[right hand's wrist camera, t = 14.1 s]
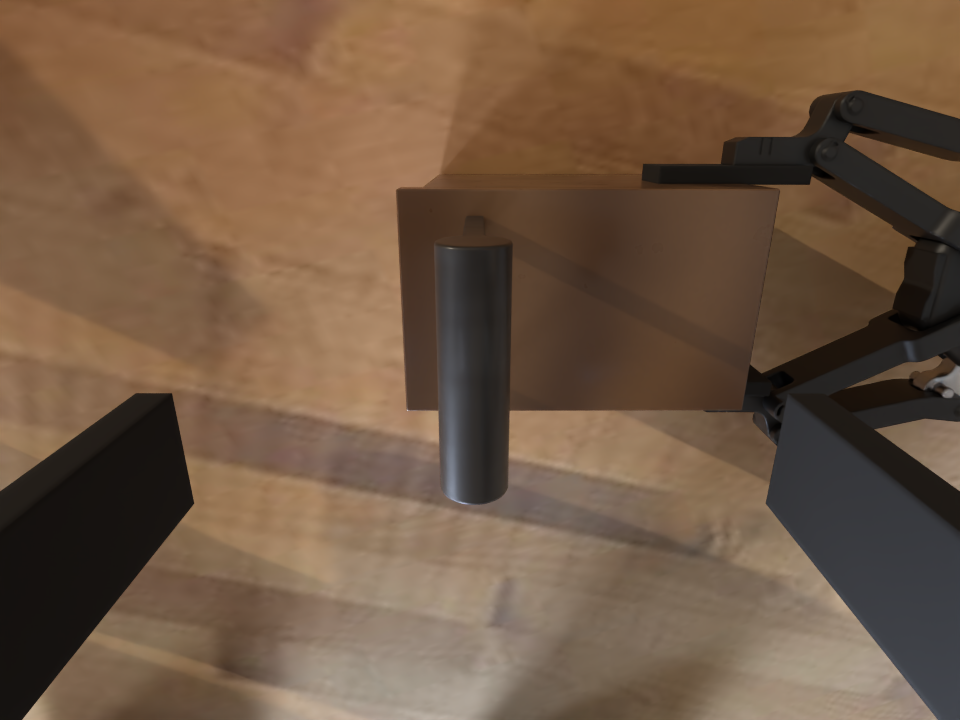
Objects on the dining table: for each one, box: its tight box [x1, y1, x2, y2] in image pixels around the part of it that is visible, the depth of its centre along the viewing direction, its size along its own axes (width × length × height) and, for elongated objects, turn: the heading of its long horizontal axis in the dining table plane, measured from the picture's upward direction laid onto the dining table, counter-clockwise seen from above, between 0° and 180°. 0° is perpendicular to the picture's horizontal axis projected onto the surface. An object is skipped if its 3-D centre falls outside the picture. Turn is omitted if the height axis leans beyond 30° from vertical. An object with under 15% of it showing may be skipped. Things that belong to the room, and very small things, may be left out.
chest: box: [424, 174, 762, 187], centre depth 29 cm, size 14×9×10 cm
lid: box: [396, 187, 780, 505], centre depth 20 cm, size 15×9×9 cm, turn 90°
